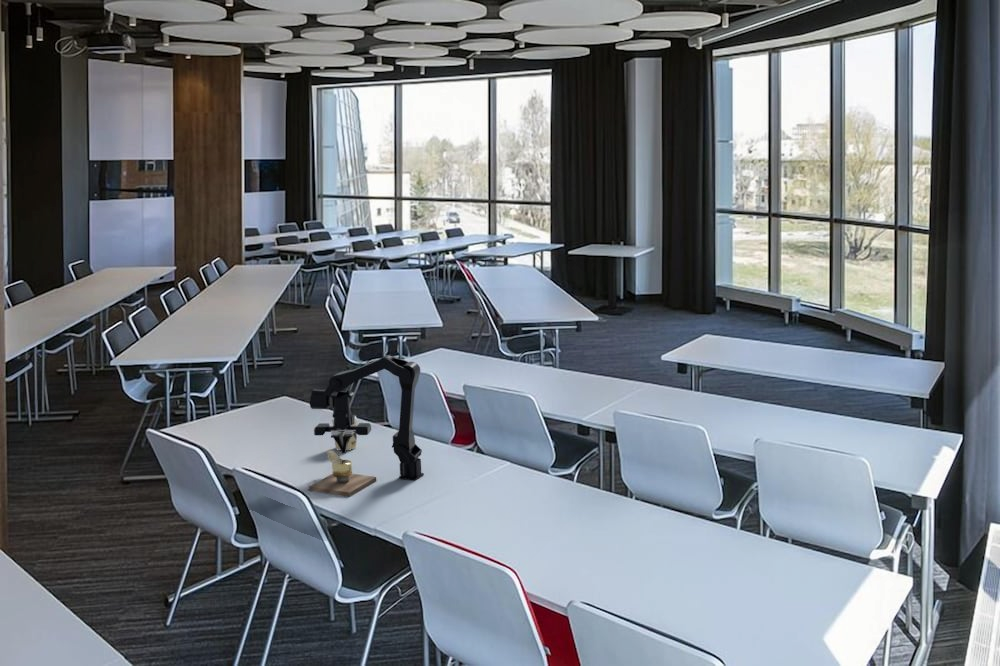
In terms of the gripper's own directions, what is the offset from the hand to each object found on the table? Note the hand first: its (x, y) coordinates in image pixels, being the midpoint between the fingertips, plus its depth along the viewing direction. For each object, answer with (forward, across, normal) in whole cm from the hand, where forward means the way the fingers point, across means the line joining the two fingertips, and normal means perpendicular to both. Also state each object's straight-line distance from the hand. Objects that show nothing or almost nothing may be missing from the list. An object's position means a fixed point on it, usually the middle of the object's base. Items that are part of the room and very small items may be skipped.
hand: (344, 453), depth 317 cm
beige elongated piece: (+4, +1, +7) cm, 8 cm away
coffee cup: (+8, +8, -30) cm, 32 cm away
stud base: (+8, -2, +12) cm, 14 cm away
